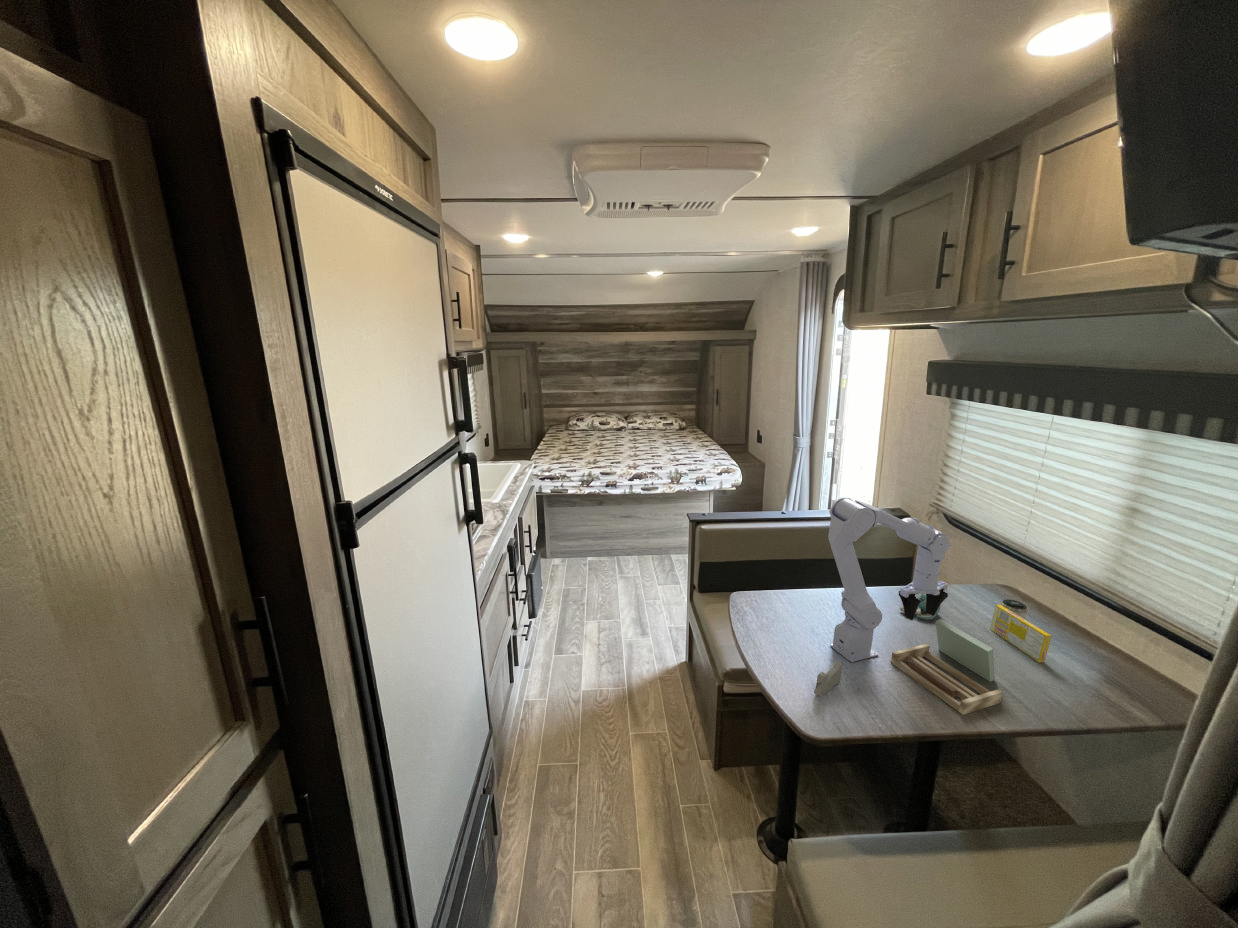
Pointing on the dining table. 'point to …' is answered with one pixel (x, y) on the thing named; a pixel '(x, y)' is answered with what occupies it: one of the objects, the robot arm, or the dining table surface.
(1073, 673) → the dining table surface
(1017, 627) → the candy box
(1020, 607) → the dark lidded jar
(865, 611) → the robot arm
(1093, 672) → the dining table surface
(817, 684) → the beige angular flat piece
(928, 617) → the stuffed animal
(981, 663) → the large sage green box
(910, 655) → the offcut rack
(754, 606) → the dining table surface
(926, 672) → the offcut stack
